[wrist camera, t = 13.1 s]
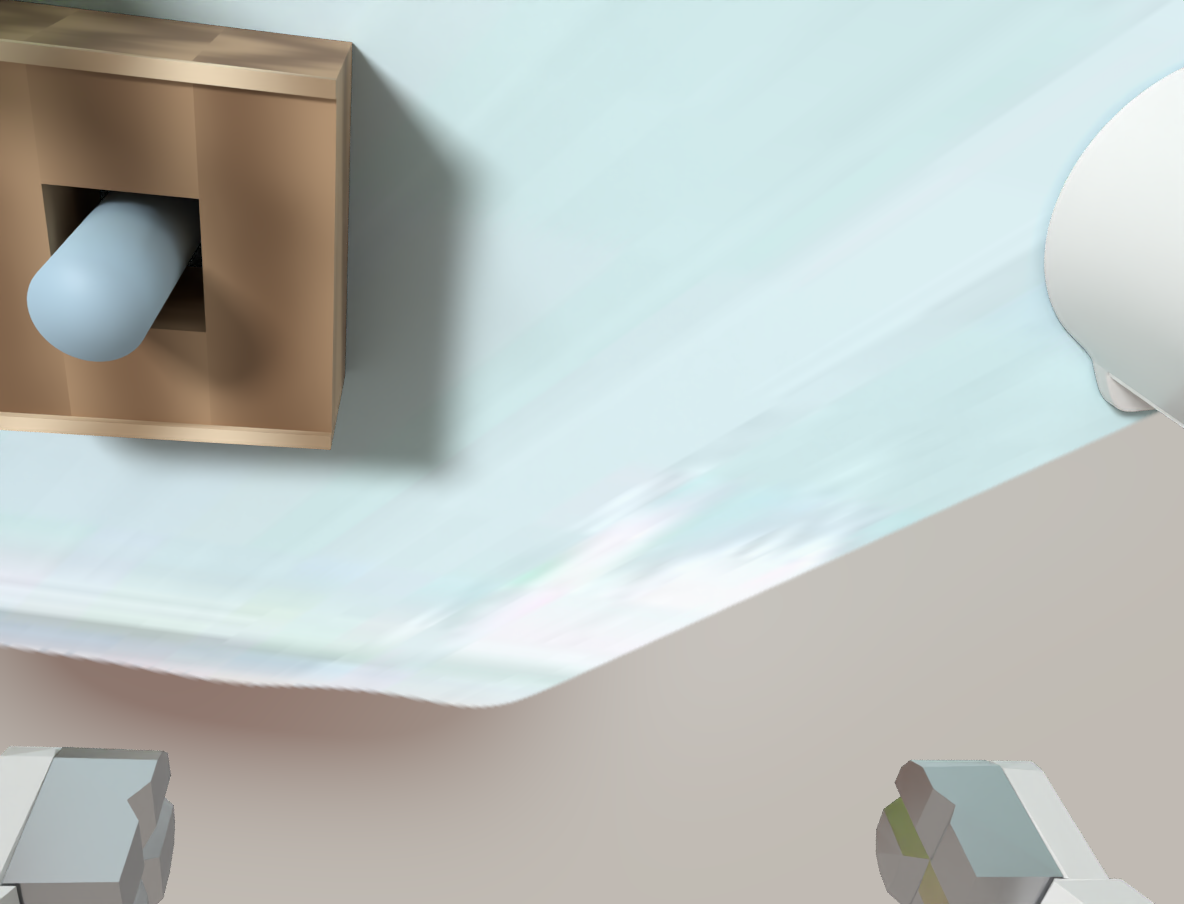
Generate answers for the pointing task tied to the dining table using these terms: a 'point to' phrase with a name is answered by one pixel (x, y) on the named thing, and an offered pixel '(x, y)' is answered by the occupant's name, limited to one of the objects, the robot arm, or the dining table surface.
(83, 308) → the dowel
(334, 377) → the socket block
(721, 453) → the dining table surface
